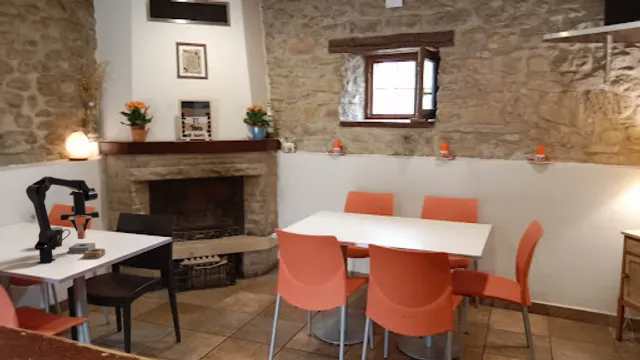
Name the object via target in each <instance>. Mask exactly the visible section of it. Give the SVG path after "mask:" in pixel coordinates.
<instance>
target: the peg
mask: <svg viewBox="0 0 640 360" xmlns="http://www.w3.org/2000/svg"><path fill="white" fill-rule="evenodd" d="M76 225H77V231H76V232H77V239H78V240H84V239H86V231H85V222H84V223H83V222H81V223H76Z"/></svg>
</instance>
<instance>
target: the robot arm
mask: <svg viewBox="0 0 640 360" xmlns="http://www.w3.org/2000/svg"><path fill="white" fill-rule="evenodd" d="M52 185H53V186H59V187H65V188H67V189H70V190H71V192H70V193H69V194H68V195H69V196H72V203H73V206H72V205H71V207H70V208H71V213H72V214H70V213H69V212H66V213H65V212H64V213H61V214H60V221H69V222H71V223H72V225H73V227H74V229H75V231H76V232H77V222H76V218H85V219H84V220H85V221H84V223H85V232H86V231H87V227H88V224H89V222H90V220H92V219H97V218H100V211H98V210H95V211H94V210H93V211H91V212H89V213H88V212H87V208H86V202H90V201H95V200H97V199H98V197H99V194H98V191H96V189H95V188H94V187H89V186H88V184H87V183H86V180H83V179H65V178H58V177H53V176H44V177H41V179H38V180H37V181H35V182H33V183H32V184H29V185H28V186H27V188H26V189H25V193H26V196H27V198H28V199H29V200H30V202H31V203H32V205H33V209H34V212H35V216H36V219H37V222H38V226H39V227H38V228H39V233H38V240H37V242H36V243H35V244H34V249H35V251H39V254H38V255H39V260H38V261H37V262H36V263H37V264H51V263H53V262H54V261H55V260H56V258H54V257H53V251H55V250H56V248H57V247H56V244H57V242H58V238H59V237H58V235H57V231H56V230H52V229H51V228H52V227H51V223H50V219H49V215H48V210H47V207H46V203H45V201H46V198H47V192H48V191H49V190H50V188H51V187H52Z"/></svg>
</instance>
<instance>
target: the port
mask: <svg viewBox="0 0 640 360" xmlns="http://www.w3.org/2000/svg"><path fill="white" fill-rule="evenodd" d="M89 249H96V242H77V243H74V244H73V245H70V247H68V254H84V252H86V251H87V250H89Z"/></svg>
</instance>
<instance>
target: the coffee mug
mask: <svg viewBox="0 0 640 360" xmlns="http://www.w3.org/2000/svg"><path fill="white" fill-rule="evenodd" d="M51 229H52V230H56V231H57V235H58V237H59V238H58V242H57V244H56V248H59V247H61V246H63V241H64V240H65V239H66V238H68V237H69V236H70V234H71V231H70V229H68V228H67V229H64V228H63V227H61V226H53V227H51ZM66 231H68V234H67V235H66V236H65V237H64V238H63V234H64V233H65V232H66Z"/></svg>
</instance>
